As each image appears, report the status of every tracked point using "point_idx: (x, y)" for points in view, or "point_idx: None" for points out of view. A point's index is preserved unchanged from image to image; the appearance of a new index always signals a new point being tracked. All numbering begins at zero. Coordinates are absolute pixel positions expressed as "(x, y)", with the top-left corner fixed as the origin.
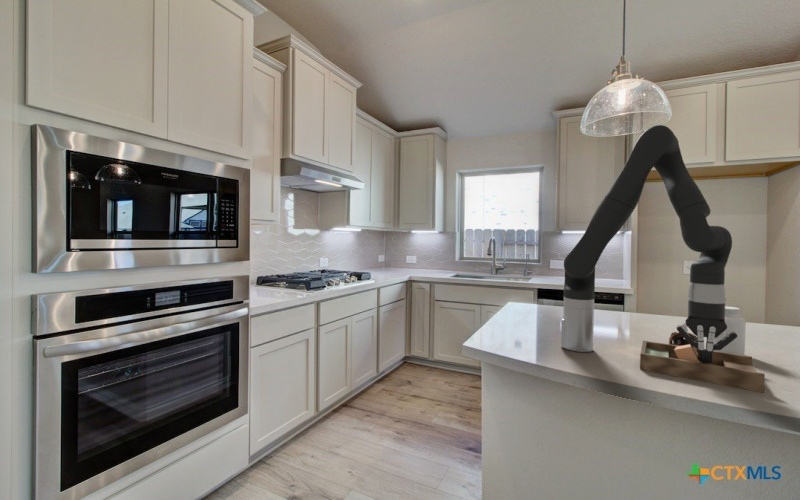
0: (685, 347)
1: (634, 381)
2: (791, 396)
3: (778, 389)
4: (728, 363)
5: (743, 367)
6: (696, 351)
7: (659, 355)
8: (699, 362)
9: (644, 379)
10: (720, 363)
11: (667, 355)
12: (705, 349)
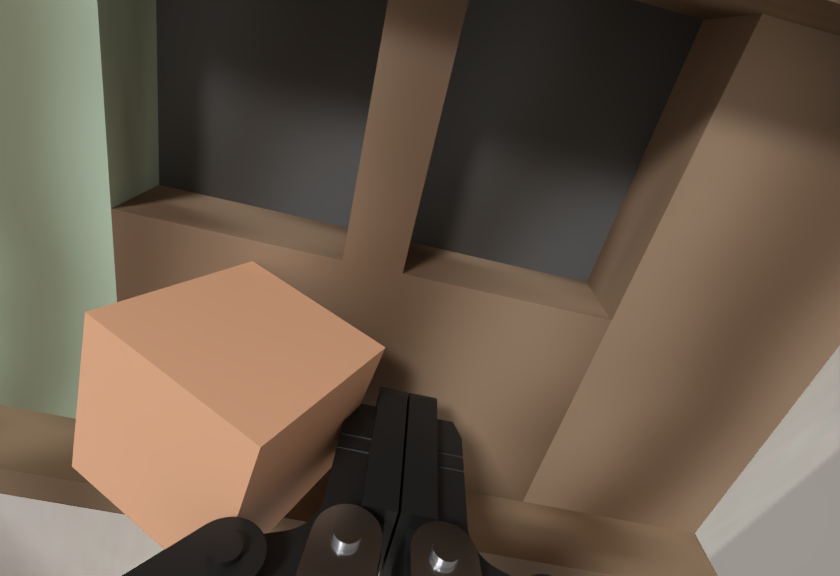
0: (166, 536)
1: (7, 553)
2: (780, 490)
3: (801, 412)
4: (729, 165)
5: (802, 261)
6: (334, 396)
7: (11, 155)
8: (403, 262)
9: (46, 515)
10: (708, 8)
11: (93, 110)
12: (401, 527)
